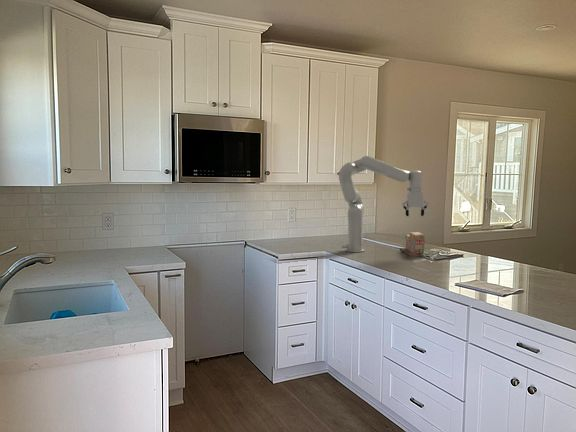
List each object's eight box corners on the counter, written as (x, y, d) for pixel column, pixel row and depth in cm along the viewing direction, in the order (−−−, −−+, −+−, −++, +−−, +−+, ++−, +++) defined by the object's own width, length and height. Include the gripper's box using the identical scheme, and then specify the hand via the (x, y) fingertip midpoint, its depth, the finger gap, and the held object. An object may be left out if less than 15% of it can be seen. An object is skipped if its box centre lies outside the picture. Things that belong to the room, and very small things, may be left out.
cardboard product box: (405, 248, 315) (405, 230, 314) (414, 248, 315) (414, 230, 314) (414, 254, 294) (415, 234, 293) (424, 253, 294) (424, 234, 293)
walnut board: (412, 257, 290) (412, 255, 290) (400, 249, 317) (400, 247, 317) (431, 256, 291) (431, 254, 291) (417, 249, 317) (417, 247, 317)
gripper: (403, 190, 296) (403, 216, 298) (430, 189, 297) (429, 216, 298) (400, 189, 304) (400, 215, 305) (426, 189, 304) (426, 215, 306)
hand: (414, 216), depth 302 cm, fingers open, 9 cm apart
